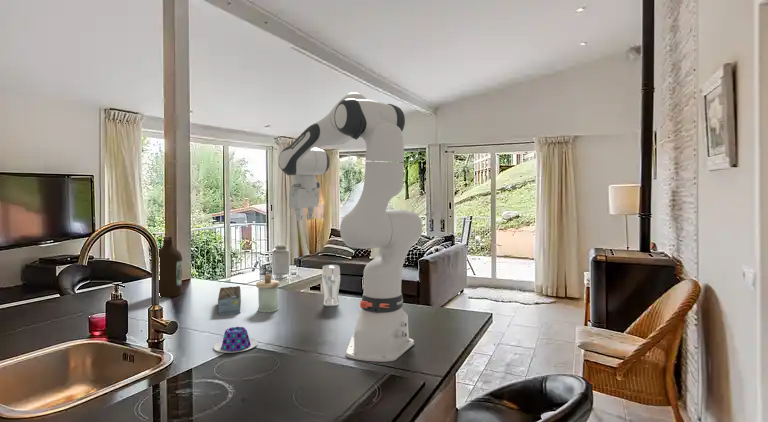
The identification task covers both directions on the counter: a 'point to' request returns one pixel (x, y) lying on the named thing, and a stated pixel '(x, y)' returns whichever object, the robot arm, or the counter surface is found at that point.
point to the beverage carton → (229, 300)
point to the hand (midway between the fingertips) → (304, 219)
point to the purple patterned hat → (235, 340)
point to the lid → (268, 282)
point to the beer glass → (331, 284)
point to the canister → (268, 299)
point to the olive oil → (170, 270)
